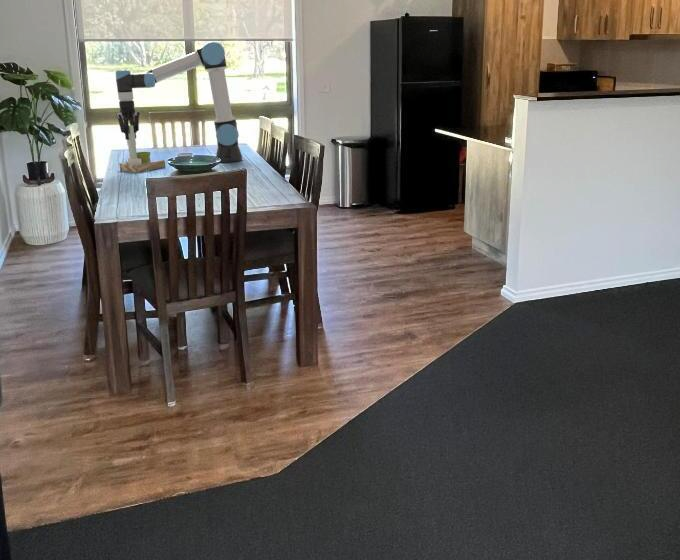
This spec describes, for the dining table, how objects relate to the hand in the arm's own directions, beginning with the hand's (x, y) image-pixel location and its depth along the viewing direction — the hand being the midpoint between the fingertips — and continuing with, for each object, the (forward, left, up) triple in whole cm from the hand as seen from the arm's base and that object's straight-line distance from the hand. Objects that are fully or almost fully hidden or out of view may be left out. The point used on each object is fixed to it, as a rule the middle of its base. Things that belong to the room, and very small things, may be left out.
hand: (131, 145), depth 395 cm
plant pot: (0, -6, -14) cm, 15 cm away
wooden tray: (0, -6, -13) cm, 15 cm away
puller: (0, -1, -13) cm, 13 cm away
